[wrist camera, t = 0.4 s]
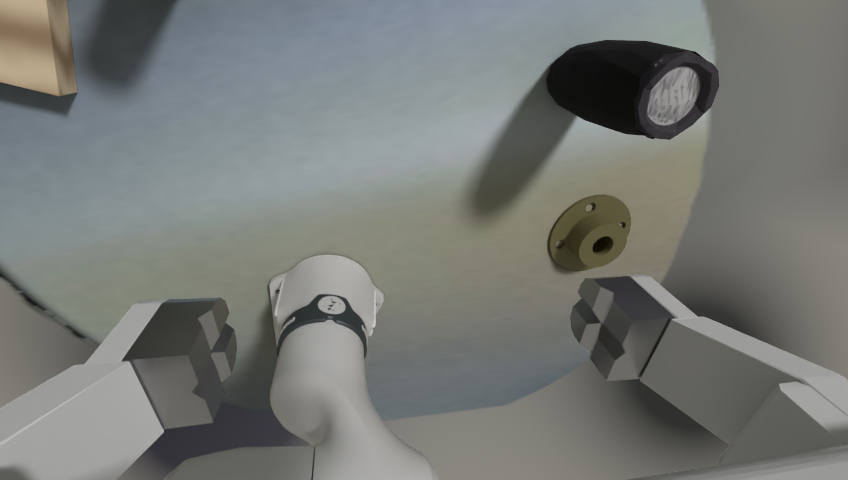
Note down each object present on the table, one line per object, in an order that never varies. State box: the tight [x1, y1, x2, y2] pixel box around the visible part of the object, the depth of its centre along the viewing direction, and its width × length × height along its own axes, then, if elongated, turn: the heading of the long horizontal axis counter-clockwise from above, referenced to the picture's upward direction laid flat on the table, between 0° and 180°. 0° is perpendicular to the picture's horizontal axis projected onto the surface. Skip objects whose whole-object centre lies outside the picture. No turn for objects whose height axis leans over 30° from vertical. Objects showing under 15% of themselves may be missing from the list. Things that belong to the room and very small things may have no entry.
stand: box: [0, 0, 77, 96], centre depth 37 cm, size 10×10×3 cm
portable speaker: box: [547, 40, 719, 140], centre depth 42 cm, size 9×9×20 cm
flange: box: [549, 195, 631, 271], centre depth 63 cm, size 5×15×15 cm
